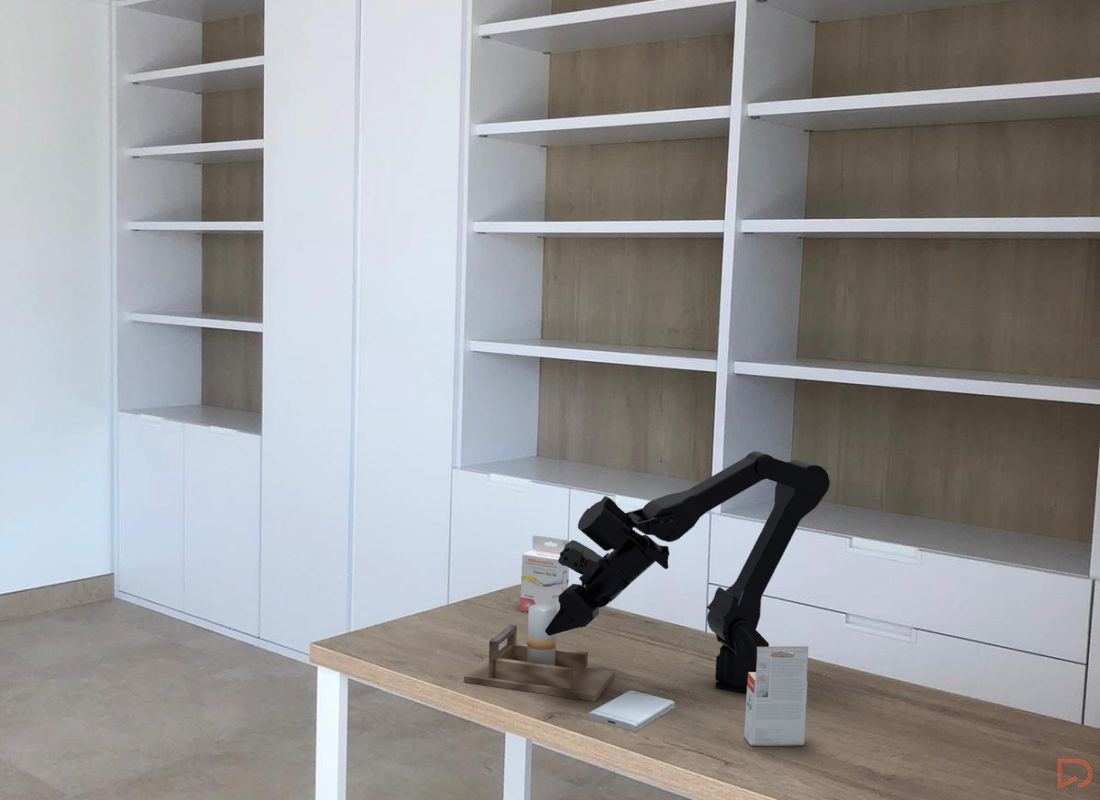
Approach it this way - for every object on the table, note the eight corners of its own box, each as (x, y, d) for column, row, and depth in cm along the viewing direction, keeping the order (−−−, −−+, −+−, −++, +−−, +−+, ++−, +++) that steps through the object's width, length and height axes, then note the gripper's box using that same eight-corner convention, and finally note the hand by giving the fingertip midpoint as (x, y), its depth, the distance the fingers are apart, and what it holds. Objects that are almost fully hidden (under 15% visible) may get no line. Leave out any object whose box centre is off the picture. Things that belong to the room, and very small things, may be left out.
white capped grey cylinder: (559, 671, 187) (561, 606, 186) (548, 680, 183) (550, 613, 182) (533, 667, 189) (535, 602, 188) (521, 675, 184) (523, 609, 184)
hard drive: (629, 689, 180) (587, 711, 170) (675, 701, 175) (635, 724, 165) (628, 699, 180) (587, 721, 170) (674, 711, 175) (635, 735, 165)
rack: (614, 677, 188) (615, 636, 188) (595, 701, 177) (596, 657, 176) (490, 660, 195) (491, 620, 194) (463, 682, 183) (465, 640, 183)
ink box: (743, 737, 165) (748, 638, 163) (796, 736, 165) (802, 639, 164) (750, 747, 161) (755, 646, 160) (804, 746, 162) (810, 647, 160)
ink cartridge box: (518, 611, 225) (521, 538, 224) (529, 605, 229) (531, 534, 228) (558, 617, 222) (561, 543, 220) (568, 611, 226) (571, 539, 225)
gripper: (605, 516, 190) (541, 574, 194) (572, 538, 172) (503, 601, 177) (650, 566, 188) (584, 624, 193) (621, 594, 171) (550, 657, 175)
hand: (555, 625), depth 184 cm, fingers open, 9 cm apart
